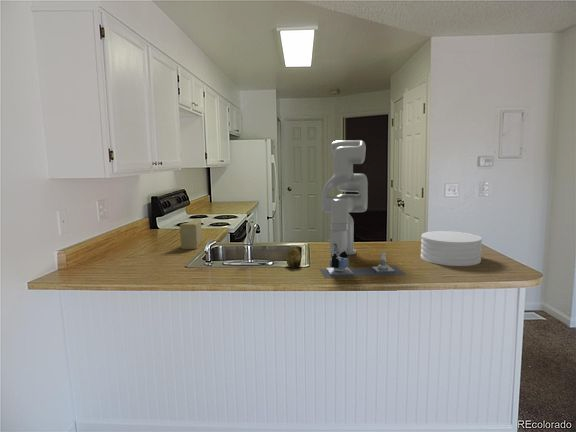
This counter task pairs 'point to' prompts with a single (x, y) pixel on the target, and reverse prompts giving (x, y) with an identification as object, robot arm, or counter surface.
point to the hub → (339, 271)
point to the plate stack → (451, 248)
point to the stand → (383, 266)
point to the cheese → (191, 234)
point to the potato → (293, 258)
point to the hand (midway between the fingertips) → (339, 264)
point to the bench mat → (364, 272)
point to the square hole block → (341, 263)
